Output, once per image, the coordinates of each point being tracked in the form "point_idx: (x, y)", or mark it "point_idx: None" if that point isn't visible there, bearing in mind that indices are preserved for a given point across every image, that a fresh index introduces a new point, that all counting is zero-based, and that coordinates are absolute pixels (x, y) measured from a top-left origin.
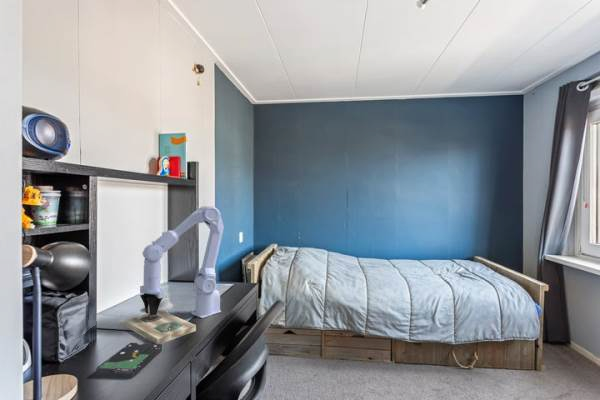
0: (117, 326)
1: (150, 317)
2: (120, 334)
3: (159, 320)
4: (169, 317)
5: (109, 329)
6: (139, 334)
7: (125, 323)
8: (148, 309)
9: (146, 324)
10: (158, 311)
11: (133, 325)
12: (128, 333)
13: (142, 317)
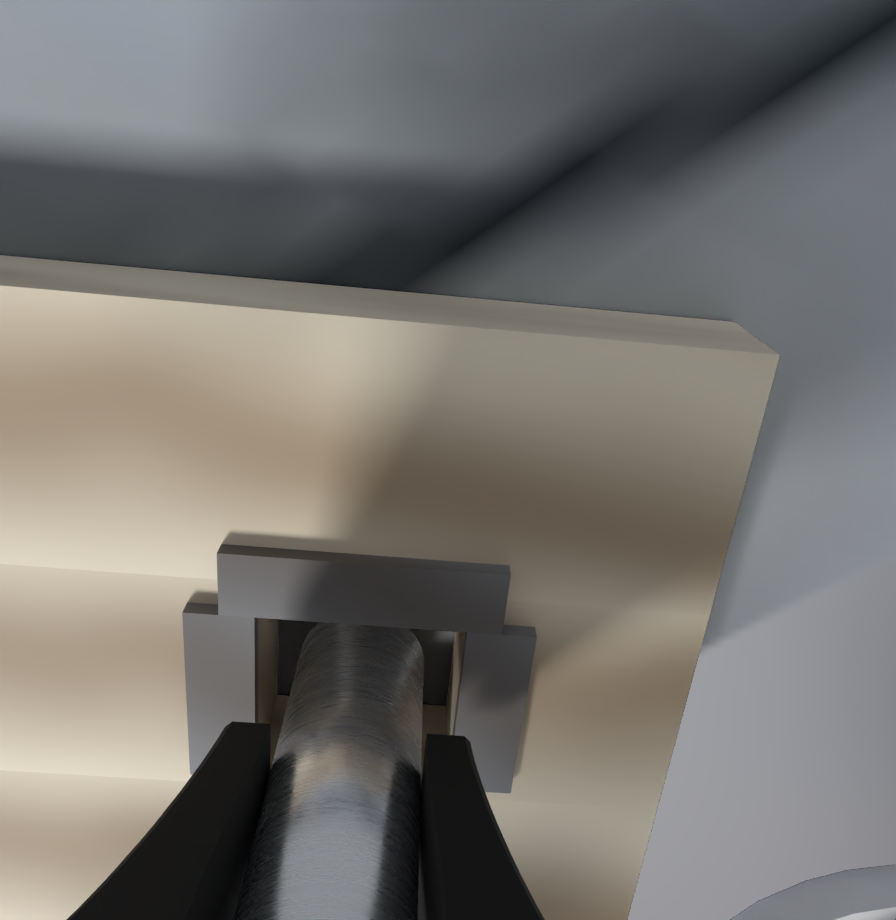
0: (833, 227)
1: (301, 693)
2: (358, 25)
3: (142, 728)
4: None
5: (846, 26)
6: (23, 257)
7: (688, 332)
8: (329, 818)
9: (122, 498)
10: (592, 917)
11: (282, 310)
12: (273, 163)
13: (571, 644)
